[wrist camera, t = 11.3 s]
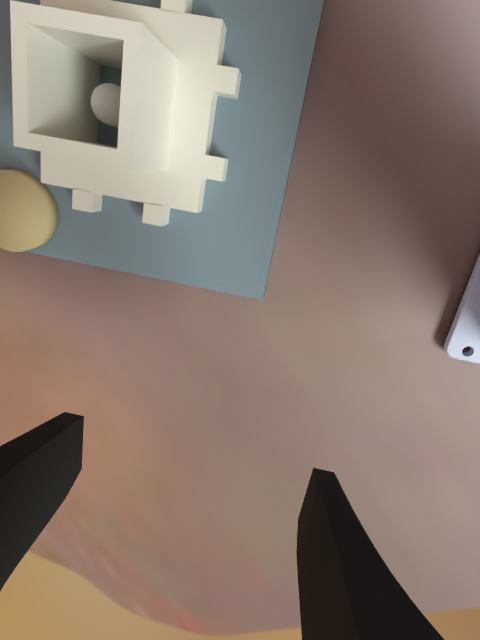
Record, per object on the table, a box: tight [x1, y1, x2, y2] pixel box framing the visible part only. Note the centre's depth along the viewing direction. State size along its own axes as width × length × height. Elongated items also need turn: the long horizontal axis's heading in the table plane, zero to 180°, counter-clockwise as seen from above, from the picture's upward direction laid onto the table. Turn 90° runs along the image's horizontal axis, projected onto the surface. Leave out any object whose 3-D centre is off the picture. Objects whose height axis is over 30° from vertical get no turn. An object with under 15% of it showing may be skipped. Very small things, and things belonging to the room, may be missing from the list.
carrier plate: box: [0, 0, 324, 300], centre depth 16 cm, size 14×14×4 cm
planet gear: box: [10, 0, 242, 226], centre depth 15 cm, size 9×9×5 cm
